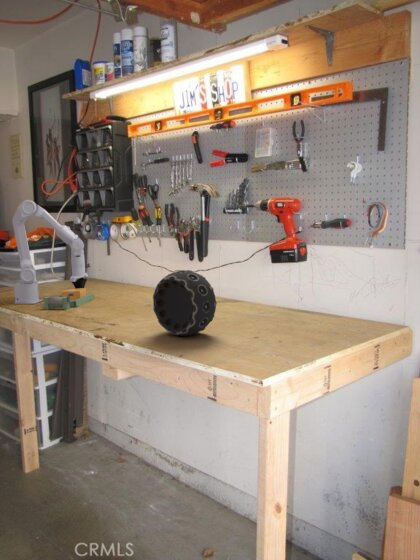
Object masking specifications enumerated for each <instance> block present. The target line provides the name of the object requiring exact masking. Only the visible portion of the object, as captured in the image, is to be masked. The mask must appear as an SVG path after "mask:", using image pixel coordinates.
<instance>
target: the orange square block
mask: <svg viewBox="0 0 420 560" xmlns="http://www.w3.org/2000/svg"><path fill="white" fill-rule="evenodd" d="M67 294H74V296H70V300H71V301H75V300H77V299H79V298H82V297H84V296H86V295H87V288H86V287H84V288H75V287H73V288H69V287H68V288H66V289H64V290H62V291H61V295H62V297H67Z"/></svg>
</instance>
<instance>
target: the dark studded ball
mask: <svg viewBox="0 0 420 560" xmlns="http://www.w3.org/2000/svg"><path fill="white" fill-rule="evenodd" d="M214 290H215V289H214V287H212V285H211V283H210V281H208V280H207V279H206V277H205V276H204V275H202V274H199V273H197V272H195V271H192V270H190V269H188V270H177V271H173V272H170V273H168V274H167V275H166V276H163V278H162V279H160V280H159V282H158V283H157V284H156V286H155V289H154V292H153V294H152V301H153V304H152V305H153V307H152V310H153V312H154V314H155V316H156V319H157V322H158V323H159V324H160V325H159V326H161V327H162V328H164V329H165V331H167V332H168V333H170V334H172V335H175V336H180V337H181V336H192V335H195V334H198V333H199V332H203V331H205V329H206V328H207V327H208V326H209V324H210V323H211V322H213V321H214V318H215V315H216V314H215V313H216V310H217V309H216V307H217V305H218V304H217V303H218V302H217V301H216V295H215V291H214Z"/></svg>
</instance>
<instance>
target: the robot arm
mask: <svg viewBox="0 0 420 560" xmlns="http://www.w3.org/2000/svg"><path fill="white" fill-rule="evenodd" d="M33 215H34V217H38V218H41V219H43V220H44V221H45V222H46V223H47V224H49V226H51V227H52V228H53V229H54V230H55V235H56V236H57V237H59V239H60V240H62V242H64V243H65V244H66V245H69V248H70V249H71V255H70V260H71V261H70V262H71V273H72V274H71V276H70V277H69V282H71V283H72V285H73V288H86V287H85V286H86V283H87V282H88V277H89V274H88V272H86V264H85V262H86V261H85V260H86V259H85V252H84V248H85V243H84V242H83V240H82V239H81V238H80V237H79V235H78V234H75V232H73V230H71V227H70V226H69V225H68V226H67V225H65V224H64V225H63V224H62V225H61V224H60V223H59V222H58V221H57V220H56V219H55V218H54V217H53V216H52V215H51V214H50V213H49V212H48V211H47V210H46V209H45V208H43V207H41V206H40V205H38V204H37V203H36V202H35V201H34V200H30V199H25V200H23V201H22V202H21V203H20V204H19V205H18V206H17V209H16V211H15V212H14V214H13V217H12V221H11V223H12V226H13V227H12V228H13V232H14V237H15V243H16V247H17V252H18V259H19V264H20V273H19V277H20V279H21V280H20V281H19V282H16V283H15V284H14V288H13V293H14V305H15V304H16V305H17V304H18V305H21V304H22V305H25V304H26V305H28V304H29V305H34V304H38V303H40V302H42V301H43V302H44V298H42V299H40V297H39V296H40V295H39V294H40V293H39V285H38V284H39V282H38V280H37V279H36V276H37V271H36V269H35V267H34V265H33V261H32V258H31V252H30V248H29V247H30V246H29V242H28V237H27V236H28V235H27V232H26V227H25V223H26V221H27V220H28V219H29V218H30V217H32V216H33Z"/></svg>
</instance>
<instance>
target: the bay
mask: <svg viewBox="0 0 420 560" xmlns="http://www.w3.org/2000/svg"><path fill="white" fill-rule="evenodd" d="M70 296H74V294H67V297H62V294H59V295H57V296H45V297H43V306H44V310H51V309H52V308H62V309H64V311H65V310H66V309H67V310H69V309H70V308H78V307H80V306H83V304H86V303H89V302H91V301H93V300H95V293H94V292H91V293H89V294H86V296H84V297H82V298H79V299H77V300H75V301H71V300H70Z"/></svg>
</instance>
